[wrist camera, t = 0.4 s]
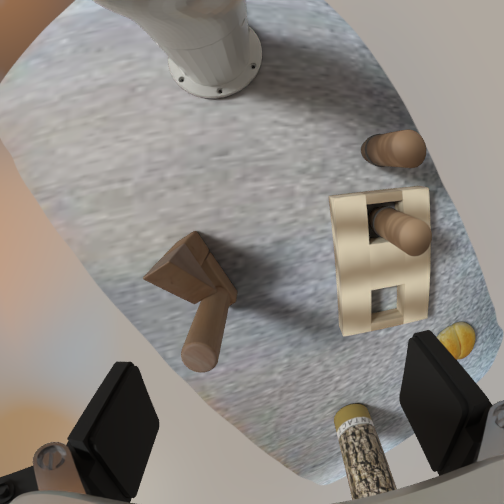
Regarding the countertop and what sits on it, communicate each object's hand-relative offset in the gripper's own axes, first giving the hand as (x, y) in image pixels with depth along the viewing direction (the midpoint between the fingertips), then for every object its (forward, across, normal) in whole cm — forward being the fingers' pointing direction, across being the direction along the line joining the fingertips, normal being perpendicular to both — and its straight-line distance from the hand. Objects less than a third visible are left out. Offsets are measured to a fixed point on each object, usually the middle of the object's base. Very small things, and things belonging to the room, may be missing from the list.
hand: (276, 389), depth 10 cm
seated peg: (+34, -16, +2) cm, 38 cm away
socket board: (+34, -16, +8) cm, 39 cm away
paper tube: (+34, -12, +38) cm, 53 cm away
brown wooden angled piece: (+34, +9, +6) cm, 36 cm away
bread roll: (+35, -32, +26) cm, 54 cm away
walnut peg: (+34, -16, -8) cm, 38 cm away
